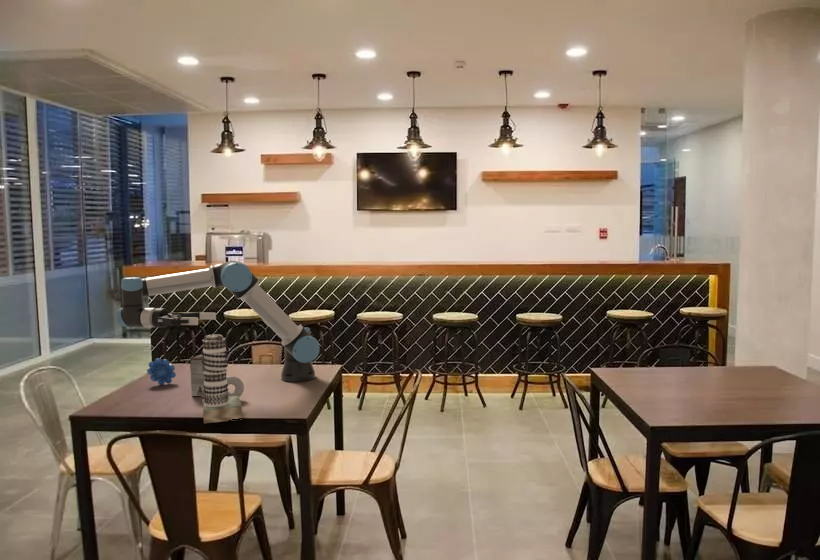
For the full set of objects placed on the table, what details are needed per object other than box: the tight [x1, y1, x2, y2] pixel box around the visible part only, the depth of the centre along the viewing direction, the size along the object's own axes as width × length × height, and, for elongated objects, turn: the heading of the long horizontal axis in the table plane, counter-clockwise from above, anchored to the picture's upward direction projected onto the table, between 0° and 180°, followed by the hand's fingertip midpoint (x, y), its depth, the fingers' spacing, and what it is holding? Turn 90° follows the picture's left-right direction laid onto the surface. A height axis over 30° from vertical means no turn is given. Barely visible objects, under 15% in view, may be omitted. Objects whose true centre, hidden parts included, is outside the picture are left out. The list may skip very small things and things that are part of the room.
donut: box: [226, 375, 245, 398], centre depth 248 cm, size 10×4×10 cm, turn 101°
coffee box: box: [189, 353, 205, 398], centre depth 257 cm, size 9×6×16 cm
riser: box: [202, 396, 243, 424], centre depth 228 cm, size 13×14×5 cm
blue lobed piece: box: [146, 357, 176, 386], centre depth 273 cm, size 12×7×12 cm, turn 115°
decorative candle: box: [200, 333, 229, 407], centre depth 224 cm, size 9×9×25 cm
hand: (206, 318), depth 238 cm, fingers open, 13 cm apart
